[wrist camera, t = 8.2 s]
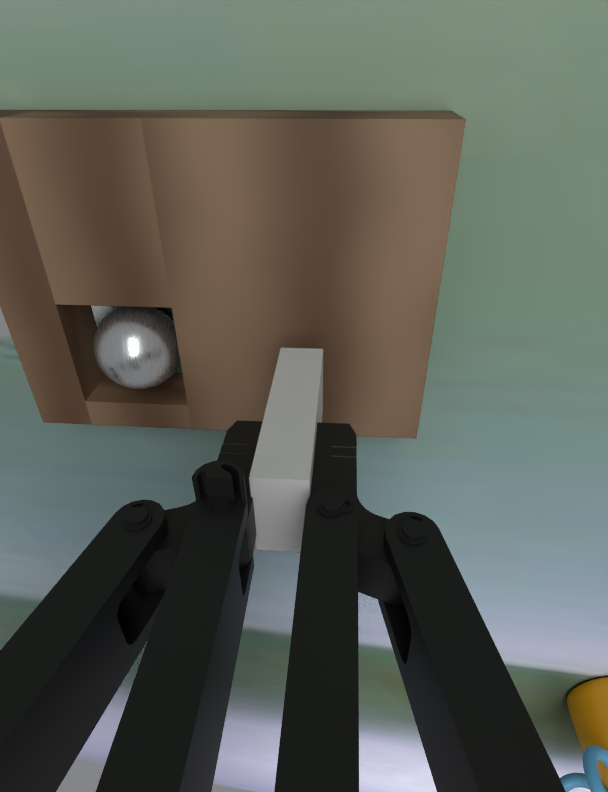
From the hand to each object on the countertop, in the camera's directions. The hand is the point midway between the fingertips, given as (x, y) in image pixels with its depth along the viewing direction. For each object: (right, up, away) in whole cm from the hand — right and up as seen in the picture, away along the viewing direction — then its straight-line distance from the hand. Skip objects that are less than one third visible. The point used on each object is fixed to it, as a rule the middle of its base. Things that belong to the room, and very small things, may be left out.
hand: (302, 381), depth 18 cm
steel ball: (-7, +2, +3) cm, 7 cm away
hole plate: (-3, +4, +2) cm, 6 cm away
